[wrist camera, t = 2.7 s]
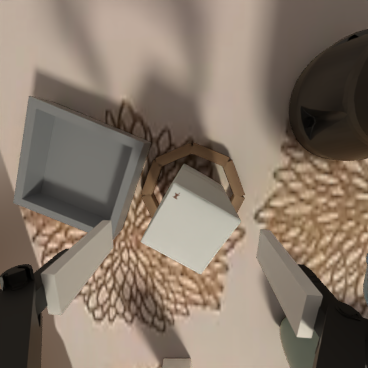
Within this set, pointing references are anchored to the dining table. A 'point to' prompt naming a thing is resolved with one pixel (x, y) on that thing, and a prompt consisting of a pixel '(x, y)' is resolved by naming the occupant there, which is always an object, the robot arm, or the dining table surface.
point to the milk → (177, 363)
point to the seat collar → (182, 152)
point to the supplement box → (192, 220)
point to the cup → (297, 346)
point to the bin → (77, 167)
